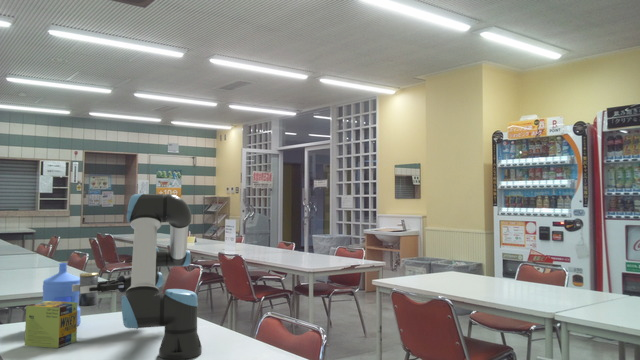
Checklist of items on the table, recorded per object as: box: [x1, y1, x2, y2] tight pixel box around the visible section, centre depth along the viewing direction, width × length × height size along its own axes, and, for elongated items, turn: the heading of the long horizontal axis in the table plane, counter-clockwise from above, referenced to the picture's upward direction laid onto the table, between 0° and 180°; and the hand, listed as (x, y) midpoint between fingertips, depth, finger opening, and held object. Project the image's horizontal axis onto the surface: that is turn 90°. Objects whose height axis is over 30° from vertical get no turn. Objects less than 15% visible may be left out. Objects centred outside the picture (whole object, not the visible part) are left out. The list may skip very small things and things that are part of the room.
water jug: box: [42, 262, 82, 327], centre depth 223 cm, size 16×16×28 cm
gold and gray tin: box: [78, 272, 100, 307], centre depth 207 cm, size 7×7×13 cm
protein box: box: [24, 301, 79, 349], centre depth 195 cm, size 10×15×16 cm
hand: (76, 289), depth 204 cm, fingers closed on gold and gray tin, 7 cm apart
